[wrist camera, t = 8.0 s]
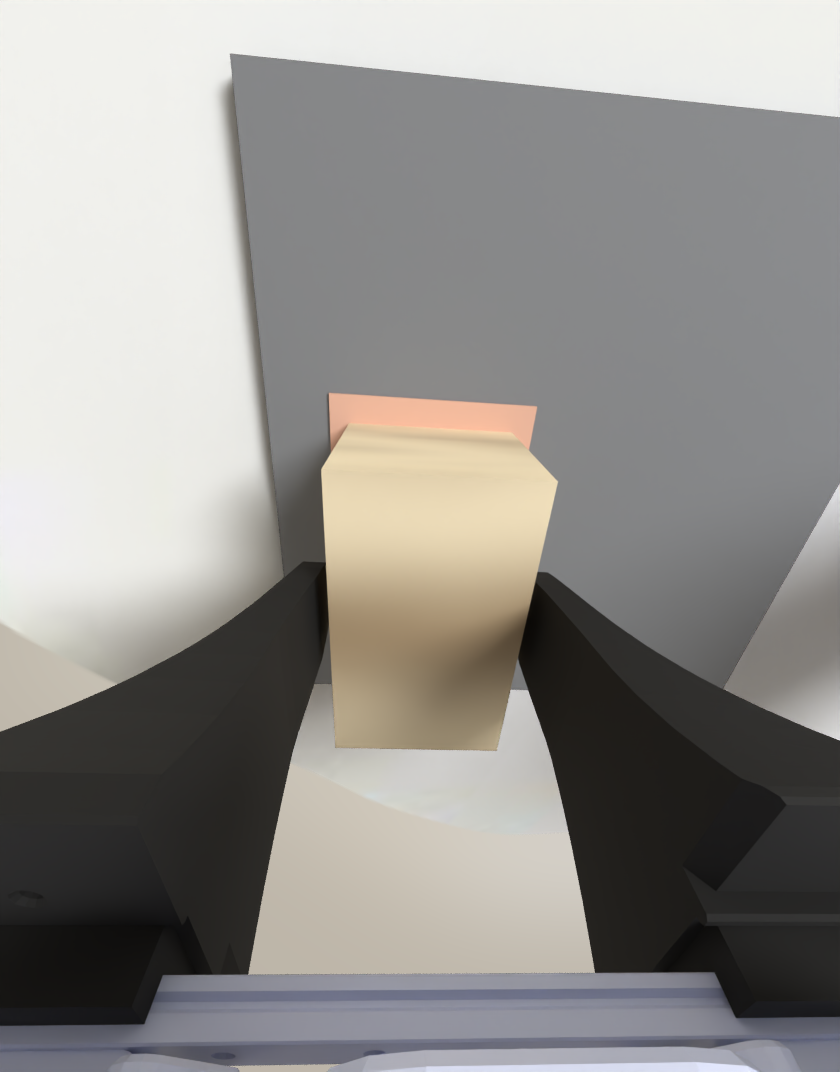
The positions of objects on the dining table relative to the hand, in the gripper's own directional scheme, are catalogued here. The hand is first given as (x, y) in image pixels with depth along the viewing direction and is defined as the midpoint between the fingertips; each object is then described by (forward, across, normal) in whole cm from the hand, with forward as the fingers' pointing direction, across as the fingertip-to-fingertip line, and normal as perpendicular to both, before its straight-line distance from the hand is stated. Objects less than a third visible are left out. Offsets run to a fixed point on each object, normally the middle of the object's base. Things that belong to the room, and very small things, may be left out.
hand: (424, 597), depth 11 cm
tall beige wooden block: (+2, 0, 0) cm, 2 cm away
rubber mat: (+3, -4, -2) cm, 6 cm away
